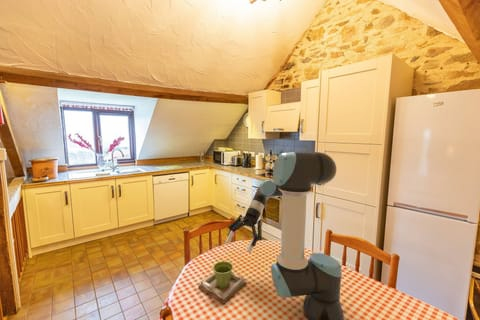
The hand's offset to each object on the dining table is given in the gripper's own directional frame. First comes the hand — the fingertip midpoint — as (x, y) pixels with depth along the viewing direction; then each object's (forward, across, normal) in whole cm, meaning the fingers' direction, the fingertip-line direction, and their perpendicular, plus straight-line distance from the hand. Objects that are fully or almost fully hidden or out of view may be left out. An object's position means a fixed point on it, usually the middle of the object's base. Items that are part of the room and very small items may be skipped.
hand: (237, 247), depth 112 cm
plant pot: (+17, 0, -2) cm, 18 cm away
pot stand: (+18, 0, -3) cm, 18 cm away
